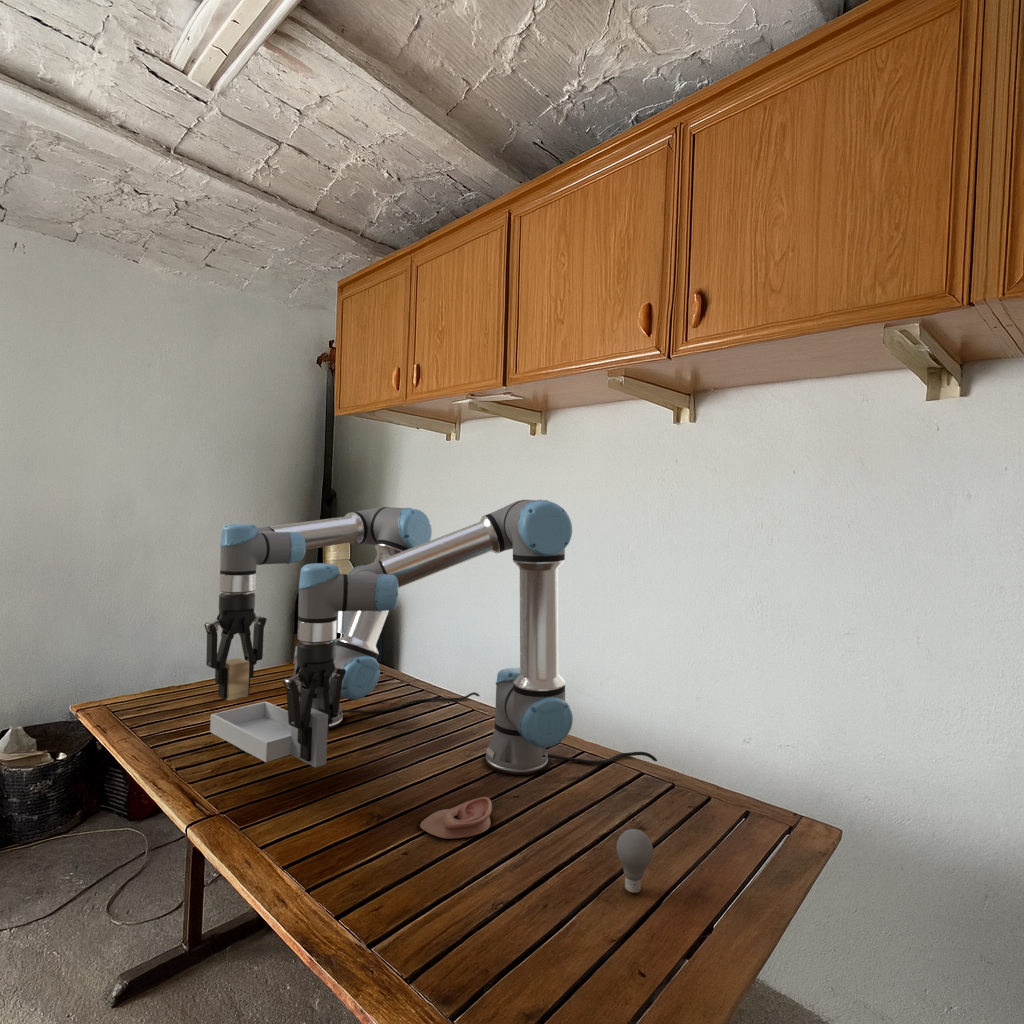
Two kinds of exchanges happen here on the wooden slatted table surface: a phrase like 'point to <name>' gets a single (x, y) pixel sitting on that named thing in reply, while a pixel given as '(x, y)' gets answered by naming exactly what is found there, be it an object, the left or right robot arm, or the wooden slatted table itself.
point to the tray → (270, 732)
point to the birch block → (237, 678)
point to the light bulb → (634, 857)
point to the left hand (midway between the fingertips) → (234, 694)
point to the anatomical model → (460, 820)
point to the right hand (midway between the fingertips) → (312, 756)
